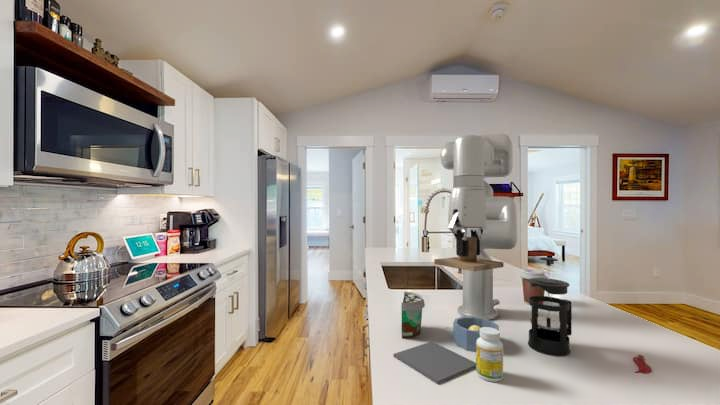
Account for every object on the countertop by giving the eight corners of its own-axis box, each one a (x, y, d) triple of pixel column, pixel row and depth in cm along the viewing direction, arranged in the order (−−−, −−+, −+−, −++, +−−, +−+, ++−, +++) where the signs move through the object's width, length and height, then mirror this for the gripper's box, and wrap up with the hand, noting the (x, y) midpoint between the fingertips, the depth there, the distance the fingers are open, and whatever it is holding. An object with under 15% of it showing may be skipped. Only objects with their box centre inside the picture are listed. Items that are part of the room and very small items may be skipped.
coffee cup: (553, 307, 113) (553, 273, 114) (527, 307, 113) (527, 273, 114) (539, 299, 122) (539, 268, 123) (515, 299, 123) (515, 268, 123)
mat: (431, 343, 83) (431, 341, 83) (478, 366, 71) (478, 363, 71) (393, 356, 75) (393, 353, 75) (437, 384, 64) (437, 381, 64)
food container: (424, 342, 83) (424, 304, 83) (401, 340, 84) (401, 303, 85) (424, 325, 95) (424, 292, 95) (404, 323, 97) (404, 291, 97)
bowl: (471, 331, 91) (471, 314, 91) (507, 345, 82) (507, 326, 82) (445, 340, 85) (445, 321, 85) (480, 356, 76) (480, 335, 76)
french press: (546, 358, 75) (546, 261, 75) (517, 342, 84) (517, 255, 84) (585, 353, 78) (585, 260, 78) (553, 337, 87) (553, 254, 87)
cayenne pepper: (645, 379, 67) (645, 370, 67) (618, 369, 71) (618, 361, 71) (663, 364, 73) (663, 356, 73) (638, 356, 77) (638, 348, 77)
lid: (463, 260, 89) (463, 235, 89) (503, 267, 79) (503, 238, 80) (434, 264, 82) (434, 236, 83) (473, 271, 73) (474, 240, 73)
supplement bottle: (498, 385, 63) (498, 337, 64) (472, 376, 67) (472, 330, 67) (506, 374, 68) (506, 330, 68) (481, 366, 71) (481, 323, 71)
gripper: (475, 186, 89) (475, 251, 89) (435, 183, 80) (434, 255, 79) (500, 185, 83) (500, 255, 83) (459, 180, 74) (459, 259, 73)
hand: (468, 254), depth 81 cm, fingers closed on lid, 4 cm apart
